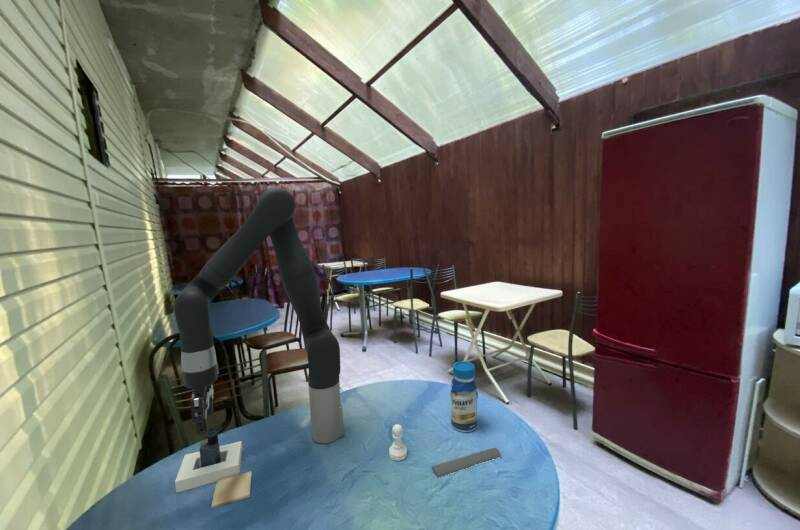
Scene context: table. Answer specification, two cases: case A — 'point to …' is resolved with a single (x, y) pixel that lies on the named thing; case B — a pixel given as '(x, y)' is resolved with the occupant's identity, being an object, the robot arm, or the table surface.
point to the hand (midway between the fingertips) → (205, 422)
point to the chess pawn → (397, 445)
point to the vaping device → (210, 449)
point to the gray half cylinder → (465, 462)
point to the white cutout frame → (209, 468)
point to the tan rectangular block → (232, 489)
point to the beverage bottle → (464, 397)
